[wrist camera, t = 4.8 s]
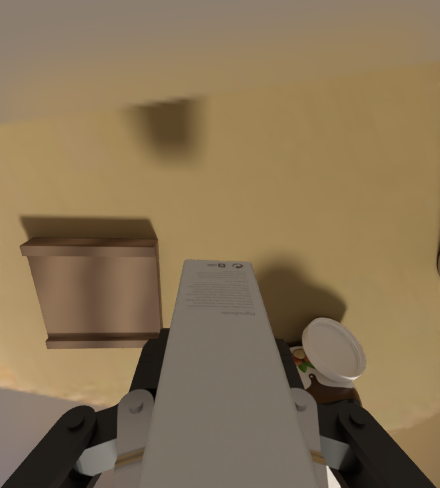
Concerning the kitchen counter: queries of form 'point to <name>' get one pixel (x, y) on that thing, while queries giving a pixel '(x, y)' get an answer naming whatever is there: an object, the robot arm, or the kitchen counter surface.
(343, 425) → the robot arm
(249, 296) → the skincare box
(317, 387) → the spread jar
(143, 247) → the board
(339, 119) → the kitchen counter surface
